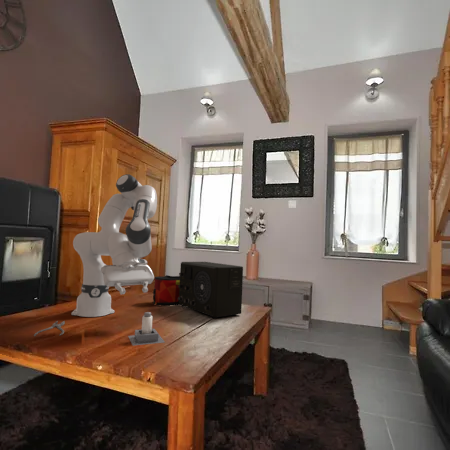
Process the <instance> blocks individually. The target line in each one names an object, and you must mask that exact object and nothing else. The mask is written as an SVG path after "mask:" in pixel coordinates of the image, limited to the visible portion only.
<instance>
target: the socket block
mask: <svg viewBox="0 0 450 450" xmlns="http://www.w3.org/2000/svg"><path fill="white" fill-rule="evenodd" d="M128 338H129V341H130V343H131V345H132V346H143V345H153V344H154V345H155V344H164V343H166V341H165V340H164V339H163V338H162V337H161V335H160V334H159V332H158V331H157V330H156V329H155V328H152V334H142V328H140V329H135V330H134V334H132V335H128Z"/></svg>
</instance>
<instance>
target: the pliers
mask: <svg viewBox="0 0 450 450" xmlns="http://www.w3.org/2000/svg"><path fill="white" fill-rule="evenodd" d="M65 323H66V322H65V320H64V321H62V322H60V323H58V320H57V321H55V322H54V323H52V325H50V327H47V328H44V329H40V330H39V331H36V332H35V333H34V335H33V337H36V336H37V335H38V334H39V333H42V332H45V331H48V330H52V329H54V328H57V330H60V332H61V333H59V336H62V335H63V334H64V333H65V330H64V329H63V326H64V325H65Z"/></svg>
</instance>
